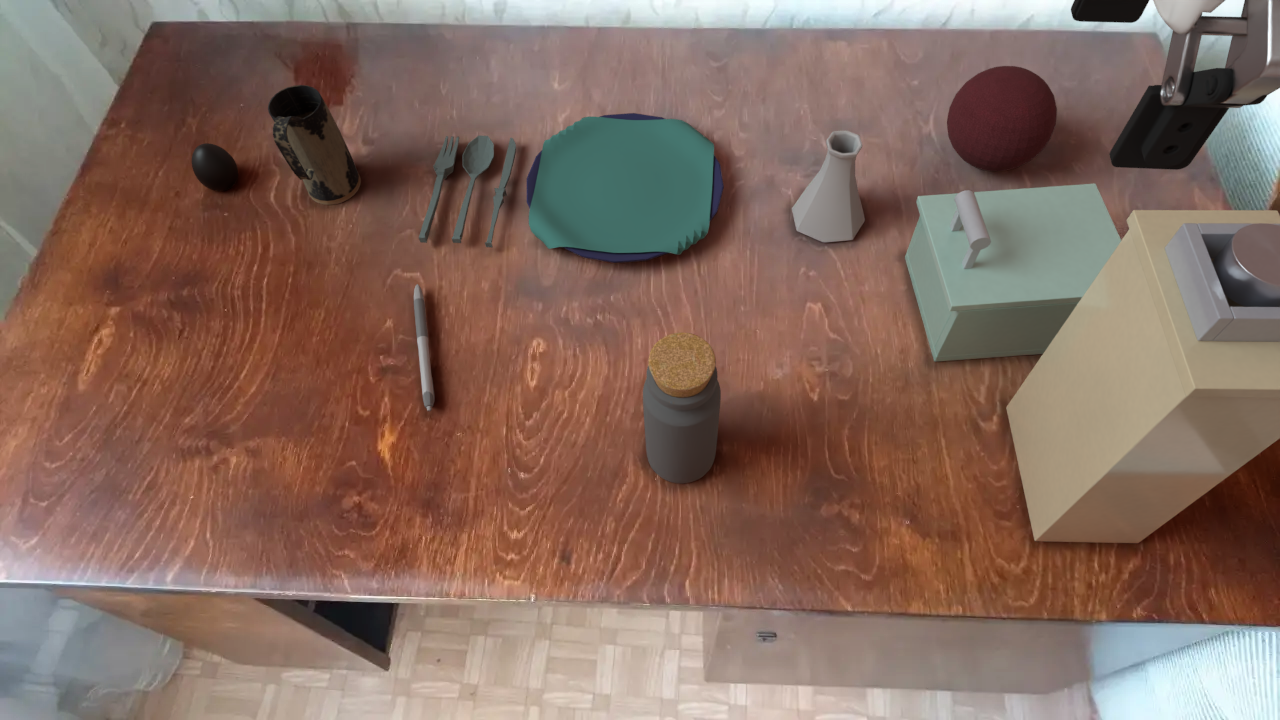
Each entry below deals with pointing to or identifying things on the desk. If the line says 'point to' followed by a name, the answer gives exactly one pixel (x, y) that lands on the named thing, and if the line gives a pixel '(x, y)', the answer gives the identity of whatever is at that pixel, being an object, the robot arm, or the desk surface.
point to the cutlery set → (604, 187)
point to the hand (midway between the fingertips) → (1122, 86)
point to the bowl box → (976, 316)
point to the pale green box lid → (1018, 244)
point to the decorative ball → (1001, 118)
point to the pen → (423, 348)
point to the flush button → (1251, 266)
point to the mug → (313, 144)
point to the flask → (832, 194)
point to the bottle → (681, 407)
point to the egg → (214, 167)
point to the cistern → (1148, 386)
